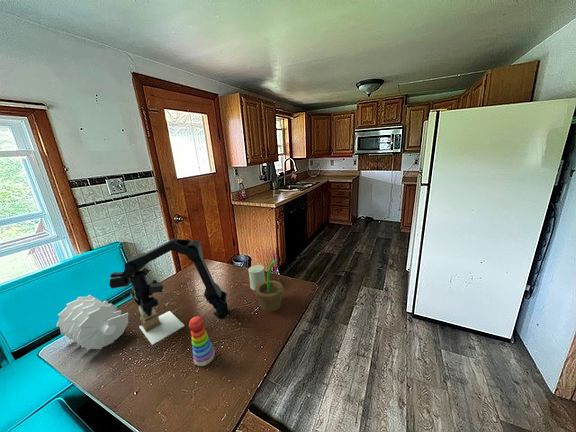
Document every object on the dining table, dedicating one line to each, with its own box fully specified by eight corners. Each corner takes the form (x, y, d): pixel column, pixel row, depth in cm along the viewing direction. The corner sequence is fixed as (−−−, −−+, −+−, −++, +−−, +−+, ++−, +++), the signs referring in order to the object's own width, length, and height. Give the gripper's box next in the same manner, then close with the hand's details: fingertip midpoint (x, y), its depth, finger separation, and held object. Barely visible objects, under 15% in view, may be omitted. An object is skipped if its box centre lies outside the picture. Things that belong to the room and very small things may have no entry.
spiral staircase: (105, 360, 96) (74, 341, 106) (139, 320, 108) (108, 306, 118) (70, 343, 84) (39, 323, 94) (112, 300, 96) (80, 286, 106)
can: (247, 289, 133) (245, 271, 129) (254, 281, 141) (252, 263, 138) (262, 291, 130) (260, 272, 127) (268, 282, 138) (266, 264, 135)
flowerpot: (286, 312, 112) (282, 256, 103) (257, 317, 110) (250, 260, 102) (282, 295, 125) (278, 244, 117) (256, 299, 123) (250, 247, 115)
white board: (184, 326, 107) (184, 325, 107) (152, 345, 97) (151, 344, 97) (169, 311, 118) (169, 310, 118) (139, 327, 108) (139, 326, 108)
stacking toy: (208, 346, 95) (200, 307, 90) (219, 356, 90) (211, 315, 85) (189, 360, 89) (180, 319, 84) (200, 371, 84) (191, 329, 79)
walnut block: (160, 324, 108) (158, 315, 107) (146, 332, 104) (143, 323, 103) (155, 319, 112) (153, 310, 111) (142, 326, 108) (139, 317, 107)
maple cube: (144, 320, 103) (141, 310, 102) (140, 315, 107) (138, 306, 105) (156, 314, 107) (153, 304, 105) (152, 309, 110) (149, 300, 109)
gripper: (167, 282, 102) (174, 312, 106) (152, 270, 114) (158, 297, 118) (138, 294, 94) (147, 326, 98) (126, 280, 106) (134, 308, 110)
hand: (148, 313), depth 106 cm, fingers closed on maple cube, 5 cm apart
